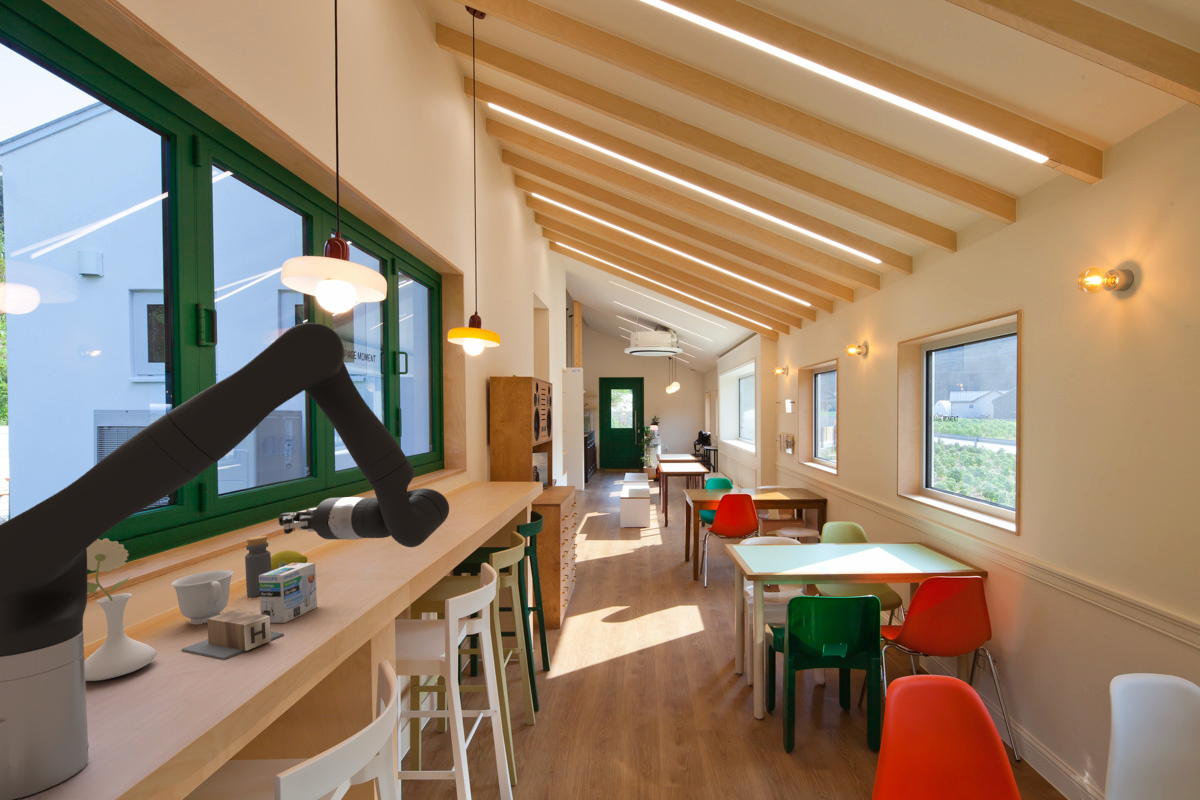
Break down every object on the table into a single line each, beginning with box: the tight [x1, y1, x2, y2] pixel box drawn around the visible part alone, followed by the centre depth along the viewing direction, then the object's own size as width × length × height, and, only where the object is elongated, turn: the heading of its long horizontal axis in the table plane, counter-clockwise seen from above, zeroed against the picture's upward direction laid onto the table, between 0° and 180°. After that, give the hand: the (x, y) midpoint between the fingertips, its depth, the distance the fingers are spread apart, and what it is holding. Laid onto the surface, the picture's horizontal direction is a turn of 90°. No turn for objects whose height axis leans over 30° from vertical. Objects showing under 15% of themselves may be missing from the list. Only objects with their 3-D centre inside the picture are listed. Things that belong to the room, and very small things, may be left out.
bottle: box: [244, 535, 272, 598], centre depth 149 cm, size 6×6×15 cm
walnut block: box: [206, 610, 272, 652], centre depth 113 cm, size 5×5×12 cm
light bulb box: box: [259, 562, 318, 624], centre depth 130 cm, size 11×7×11 cm, turn 168°
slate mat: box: [181, 630, 285, 661], centre depth 114 cm, size 14×12×1 cm
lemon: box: [271, 550, 308, 571], centre depth 163 cm, size 11×8×8 cm
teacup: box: [170, 569, 235, 625], centre depth 129 cm, size 12×15×10 cm
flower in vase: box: [84, 537, 157, 682], centre depth 103 cm, size 13×11×25 cm
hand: (282, 519), depth 108 cm, fingers closed
